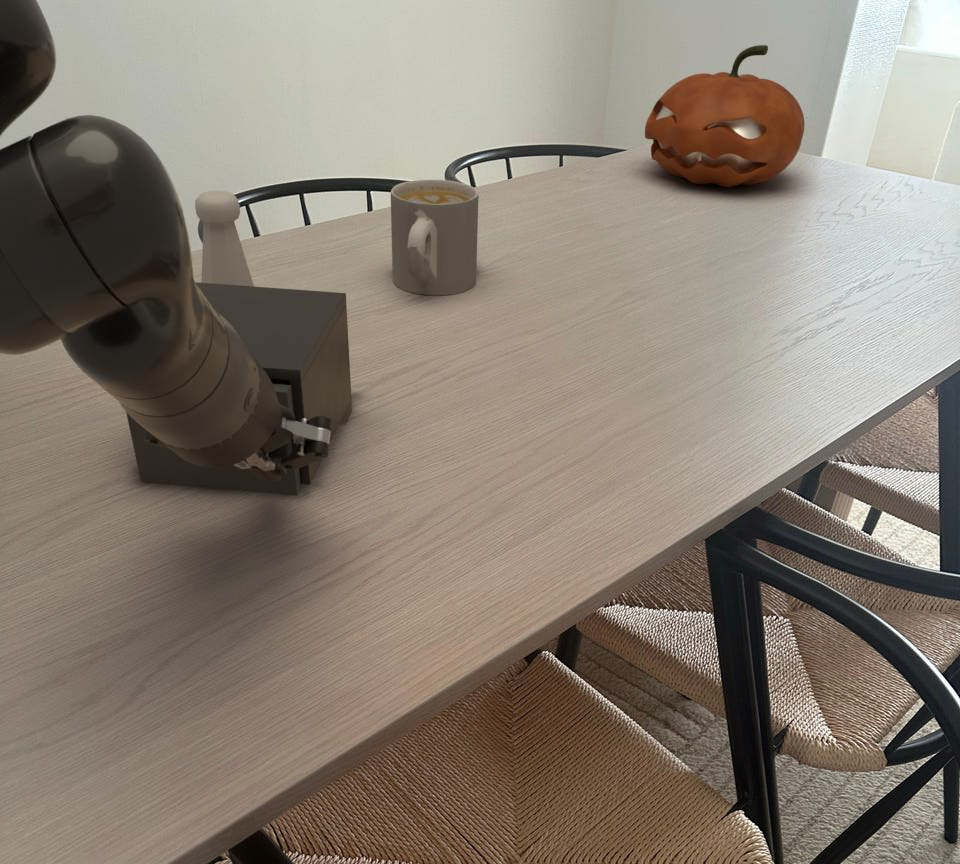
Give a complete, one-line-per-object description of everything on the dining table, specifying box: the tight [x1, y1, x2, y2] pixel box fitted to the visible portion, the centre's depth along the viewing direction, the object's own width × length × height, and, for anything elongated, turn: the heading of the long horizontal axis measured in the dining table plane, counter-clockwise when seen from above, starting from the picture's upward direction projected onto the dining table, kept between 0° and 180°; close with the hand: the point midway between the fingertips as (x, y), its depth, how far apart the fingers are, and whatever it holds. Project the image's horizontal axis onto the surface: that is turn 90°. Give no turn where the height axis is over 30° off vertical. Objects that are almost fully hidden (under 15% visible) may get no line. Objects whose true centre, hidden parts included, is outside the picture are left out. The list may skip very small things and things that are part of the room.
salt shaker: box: [194, 190, 255, 287], centre depth 102 cm, size 6×6×13 cm
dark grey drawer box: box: [195, 281, 353, 486], centre depth 82 cm, size 16×14×11 cm
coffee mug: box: [390, 179, 480, 297], centre depth 113 cm, size 13×10×10 cm
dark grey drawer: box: [125, 379, 302, 496], centre depth 80 cm, size 16×13×9 cm
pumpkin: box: [644, 44, 806, 188], centre depth 151 cm, size 25×25×19 cm
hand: (272, 467), depth 74 cm, fingers closed
